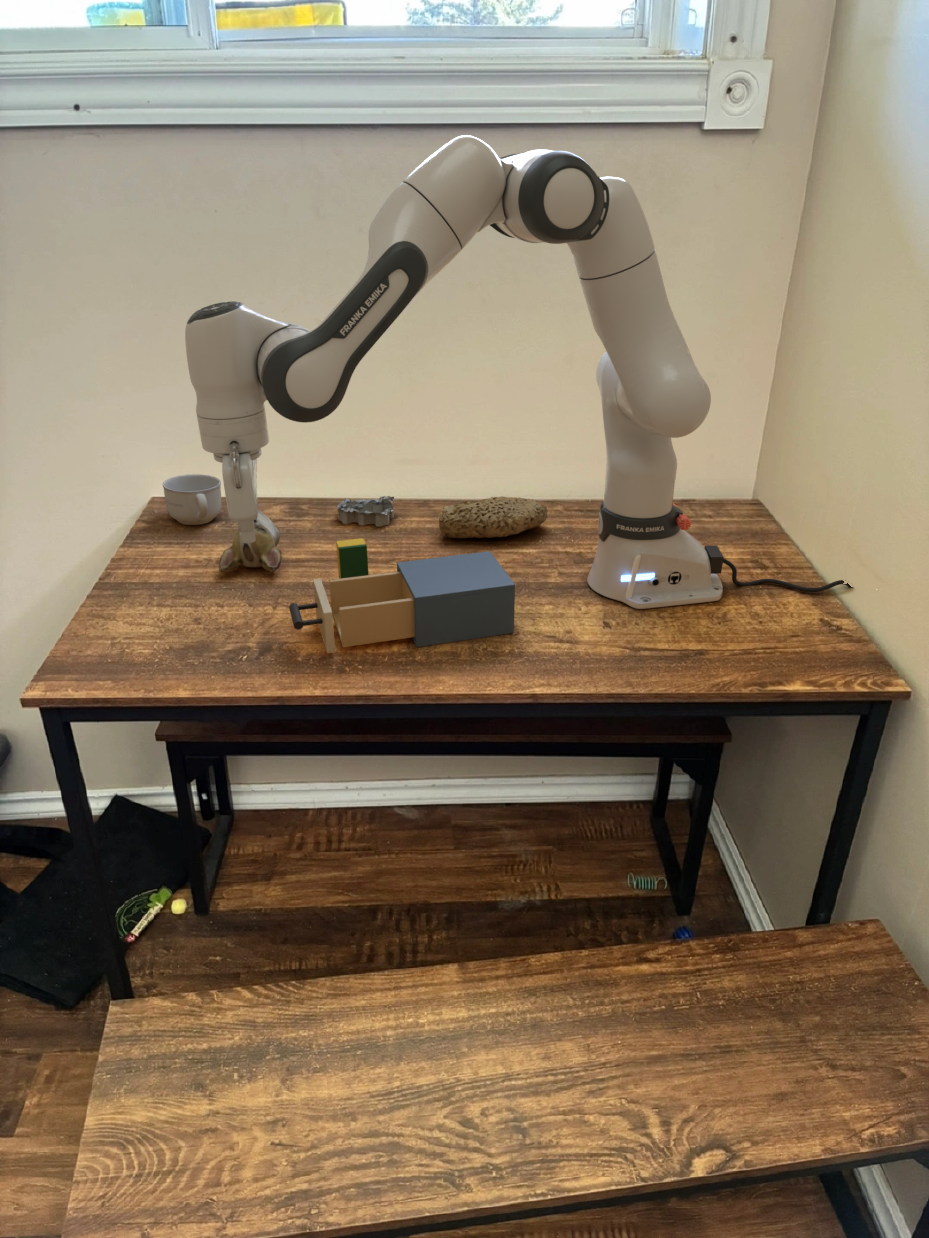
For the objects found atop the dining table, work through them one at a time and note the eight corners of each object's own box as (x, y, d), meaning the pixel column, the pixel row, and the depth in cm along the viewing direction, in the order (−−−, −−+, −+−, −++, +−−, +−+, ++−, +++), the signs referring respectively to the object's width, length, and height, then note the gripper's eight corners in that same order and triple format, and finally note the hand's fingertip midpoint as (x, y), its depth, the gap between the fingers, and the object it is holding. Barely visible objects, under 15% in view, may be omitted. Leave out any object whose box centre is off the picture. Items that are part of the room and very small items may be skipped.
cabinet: (416, 647, 132) (415, 597, 128) (398, 609, 142) (396, 562, 138) (513, 633, 136) (515, 584, 131) (489, 597, 146) (490, 551, 142)
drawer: (298, 657, 128) (294, 617, 124) (289, 621, 137) (285, 582, 134) (422, 639, 132) (421, 600, 129) (406, 605, 141) (404, 568, 138)
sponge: (441, 551, 164) (547, 536, 161) (433, 511, 162) (541, 494, 158) (452, 536, 177) (551, 521, 173) (445, 497, 174) (544, 481, 171)
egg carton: (397, 515, 177) (397, 496, 175) (385, 529, 170) (384, 509, 168) (347, 509, 179) (346, 490, 177) (334, 523, 173) (332, 504, 171)
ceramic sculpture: (288, 501, 159) (273, 540, 146) (293, 544, 164) (280, 585, 151) (229, 502, 159) (209, 540, 146) (236, 544, 163) (217, 585, 151)
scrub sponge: (366, 586, 149) (363, 537, 145) (369, 595, 146) (366, 545, 142) (339, 590, 148) (336, 541, 144) (342, 598, 145) (339, 548, 141)
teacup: (168, 512, 177) (162, 474, 174) (223, 506, 180) (218, 469, 176) (169, 539, 166) (162, 499, 162) (228, 532, 169) (223, 493, 165)
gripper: (259, 453, 109) (274, 555, 116) (257, 410, 127) (270, 500, 133) (206, 458, 108) (224, 560, 115) (212, 414, 125) (227, 505, 132)
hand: (249, 528), depth 124 cm, fingers open, 8 cm apart
